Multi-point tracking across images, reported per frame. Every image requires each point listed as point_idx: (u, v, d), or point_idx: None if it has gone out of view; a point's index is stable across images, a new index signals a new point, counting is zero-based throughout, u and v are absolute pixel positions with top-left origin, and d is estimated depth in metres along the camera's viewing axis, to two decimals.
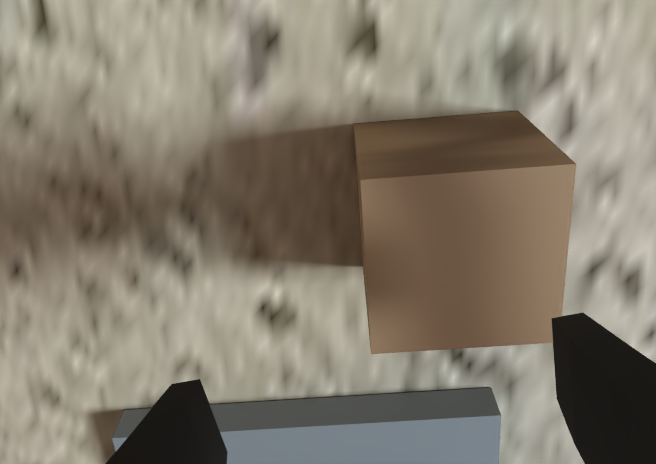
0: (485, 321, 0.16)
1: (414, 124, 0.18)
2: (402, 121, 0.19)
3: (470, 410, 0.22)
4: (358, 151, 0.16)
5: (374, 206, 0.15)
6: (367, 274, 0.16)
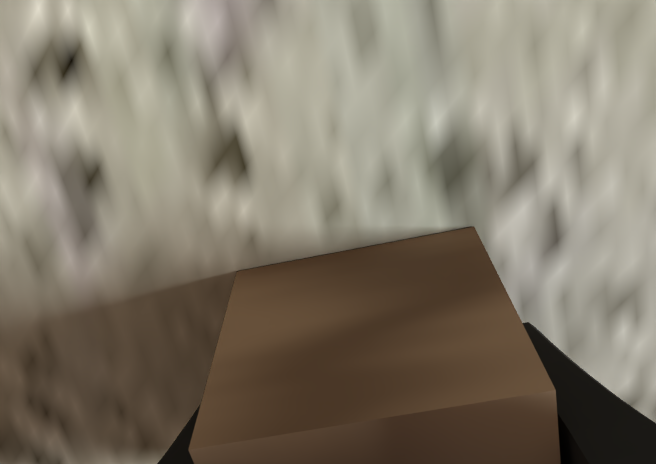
0: None
1: (319, 272, 0.12)
2: (304, 264, 0.13)
3: None
4: (216, 353, 0.10)
5: None
6: None
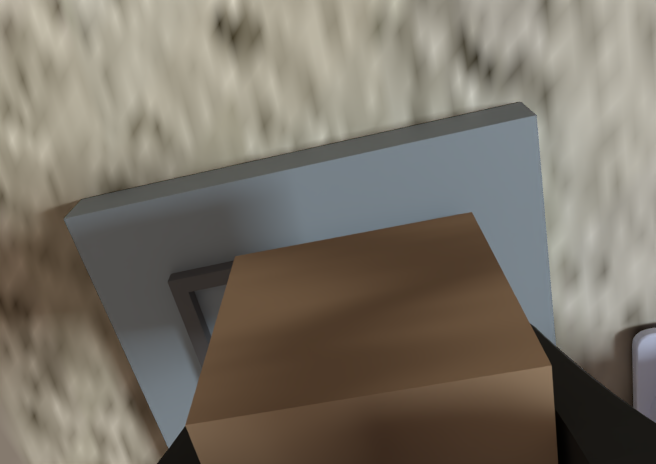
0: None
1: (317, 256, 0.12)
2: (302, 249, 0.13)
3: (497, 120, 0.17)
4: (213, 334, 0.10)
5: (220, 459, 0.09)
6: None
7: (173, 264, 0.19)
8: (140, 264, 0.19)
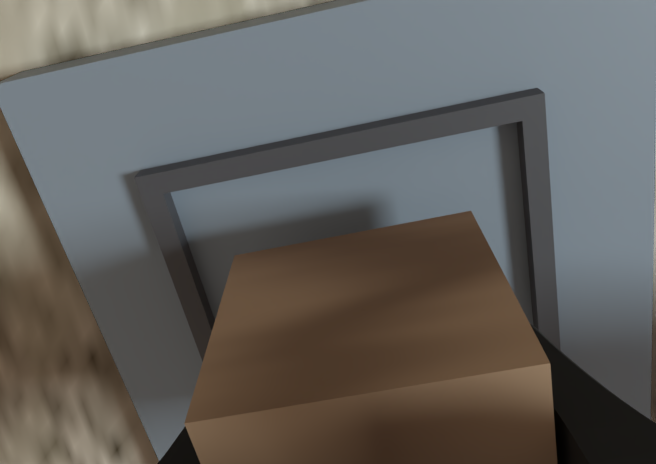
0: None
1: (316, 255, 0.12)
2: (302, 248, 0.13)
3: None
4: (212, 333, 0.10)
5: (219, 458, 0.09)
6: None
7: (143, 156, 0.14)
8: (98, 155, 0.14)
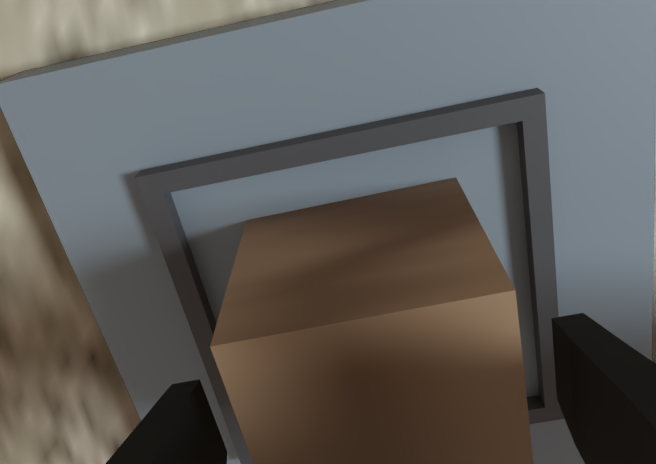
0: None
1: (319, 217, 0.14)
2: (306, 212, 0.14)
3: None
4: (230, 280, 0.12)
5: (239, 377, 0.10)
6: (253, 458, 0.11)
7: (143, 156, 0.14)
8: (98, 155, 0.14)
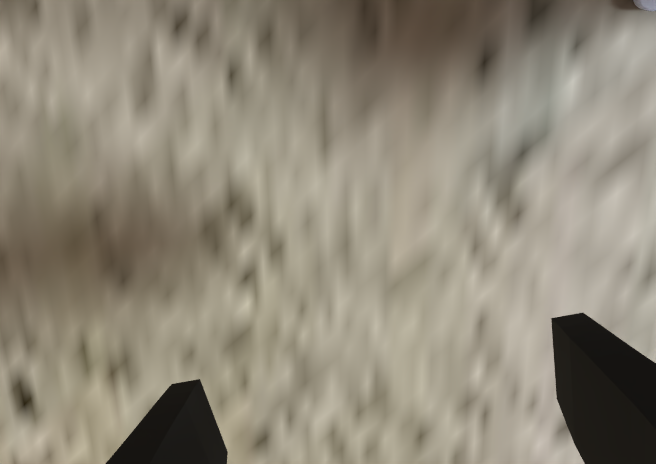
0: None
1: None
2: None
3: None
4: None
5: None
6: None
7: None
8: None
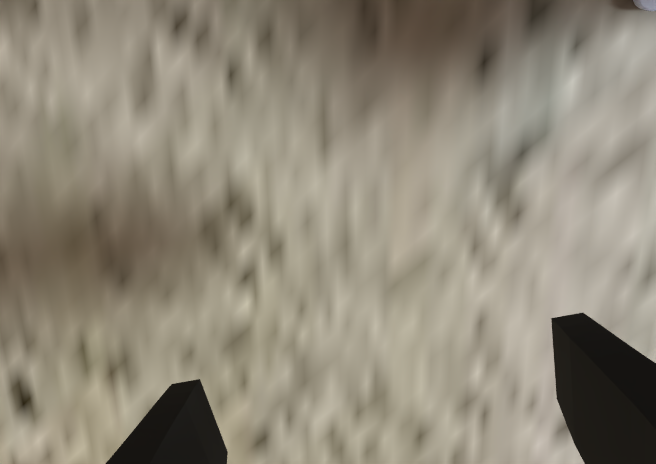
0: None
1: None
2: None
3: None
4: None
5: None
6: None
7: None
8: None
